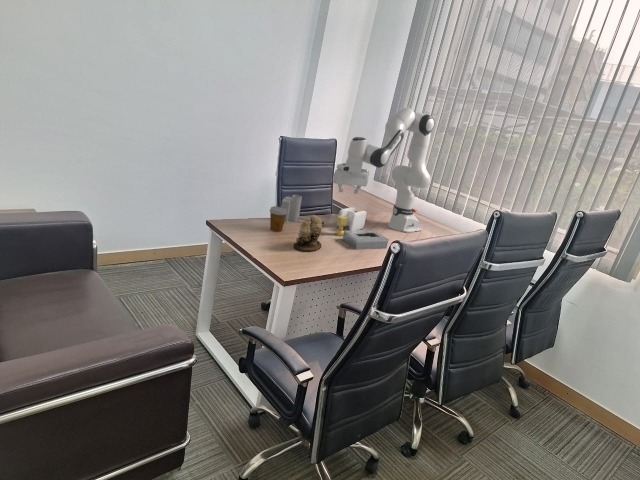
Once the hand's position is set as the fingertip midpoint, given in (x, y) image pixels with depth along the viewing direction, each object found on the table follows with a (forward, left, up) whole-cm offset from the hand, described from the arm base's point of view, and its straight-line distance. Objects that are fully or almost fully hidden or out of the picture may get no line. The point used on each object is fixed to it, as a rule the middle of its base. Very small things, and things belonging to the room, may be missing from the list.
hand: (348, 192), depth 222 cm
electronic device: (+15, -20, -25) cm, 35 cm away
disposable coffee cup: (+36, -8, -25) cm, 44 cm away
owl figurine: (+28, +16, -25) cm, 41 cm away
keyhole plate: (-7, +15, -24) cm, 29 cm away
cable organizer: (-12, -9, -25) cm, 29 cm away
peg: (+1, +1, -24) cm, 25 cm away
